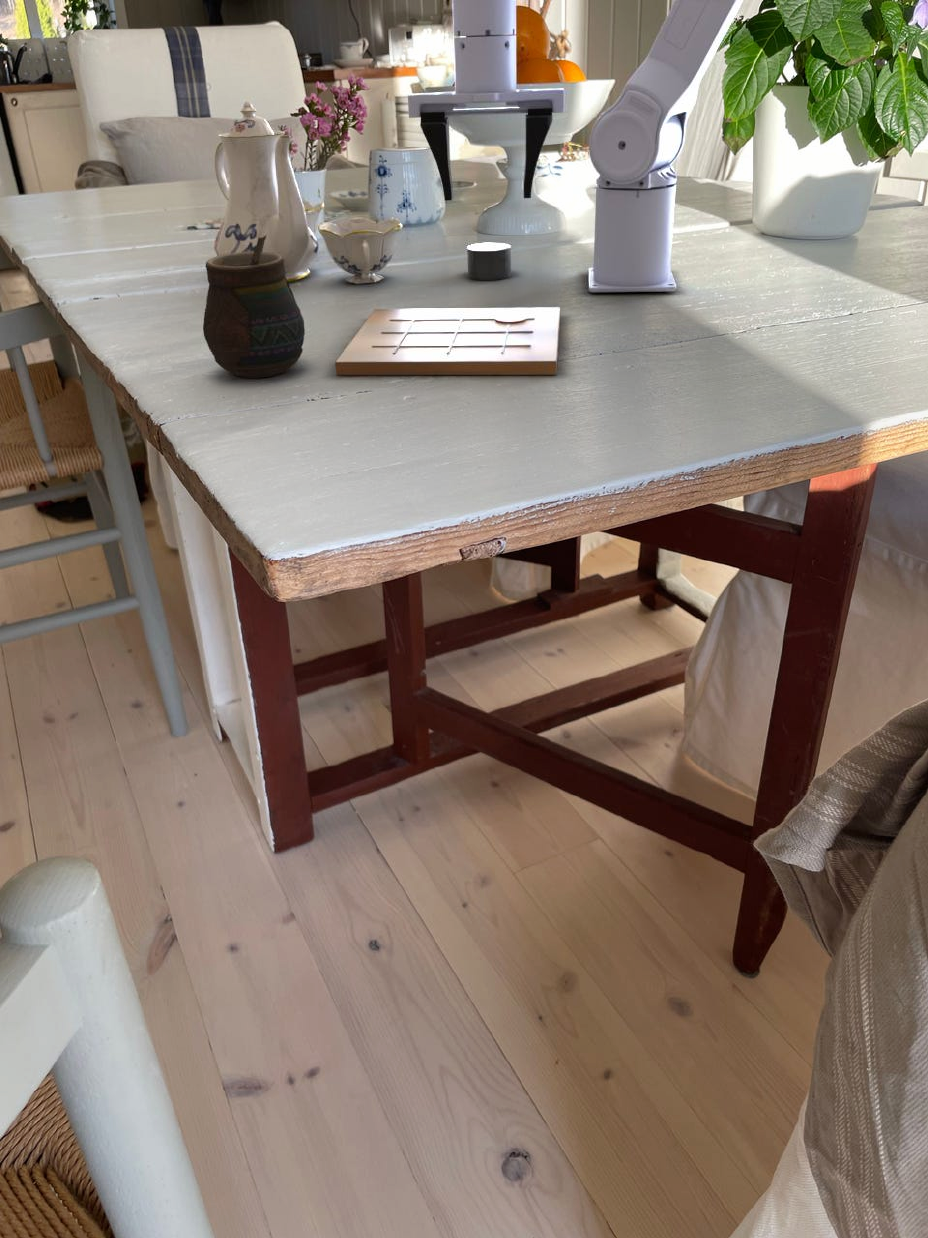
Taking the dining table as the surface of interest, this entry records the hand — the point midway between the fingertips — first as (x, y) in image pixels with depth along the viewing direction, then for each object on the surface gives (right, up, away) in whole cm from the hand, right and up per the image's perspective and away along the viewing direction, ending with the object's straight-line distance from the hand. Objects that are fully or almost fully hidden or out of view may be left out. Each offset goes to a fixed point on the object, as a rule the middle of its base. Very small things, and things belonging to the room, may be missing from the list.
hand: (487, 197), depth 95 cm
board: (-3, -20, -18) cm, 27 cm away
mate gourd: (-17, -23, -22) cm, 36 cm away
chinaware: (-20, -4, +9) cm, 22 cm away
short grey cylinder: (0, -6, +4) cm, 7 cm away
